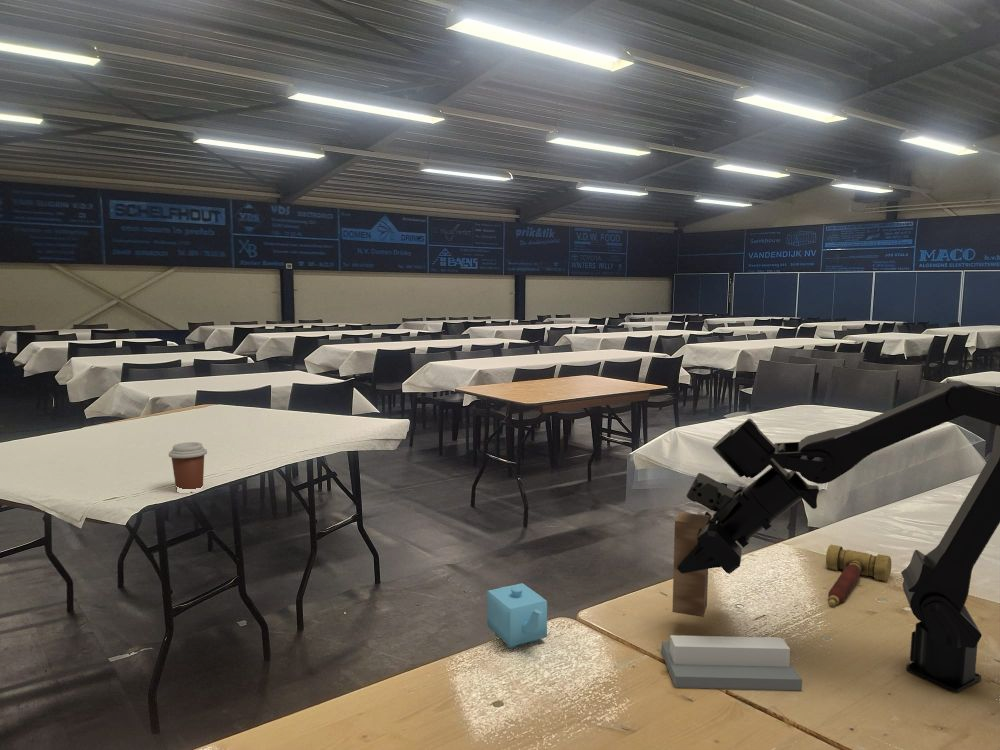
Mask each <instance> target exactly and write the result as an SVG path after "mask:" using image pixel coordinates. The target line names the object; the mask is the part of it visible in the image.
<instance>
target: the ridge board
mask: <svg viewBox="0 0 1000 750" xmlns="http://www.w3.org/2000/svg"><path fill="white" fill-rule="evenodd" d="M669 636H670V637H669V641H661V651H660V652H661V654H662V658H663V660H664V663H665V665H666V667H667V671H668V673H669V675H670V677H671V681H672V684H673V685H674V688H675V689H676V688H677V689H678V688H681V689H715V690H716V689H720V690H723V689H724V690H754V691H755V690H756V691H758V690H759V691H760V690H761V691H762V690H765V691H798V690H799V692H800V691H802V688H803V687H802V685H803V679H802V677H801V676H800V675H799V673H798V672H797V670H796V669H795V668H794V667H793V665H792V663H791V662H790V660H791V659H790V657H791V648H790V647H789V646H788V644H787V643H786V641H785V640H784V639H783V637H771V636H770V637H768V636H767V637H766V636H765V637H763V636H721V635H720V636H719V635H718V636H716V635H712V636H710V635H673V634H672V635H669Z"/></svg>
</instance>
